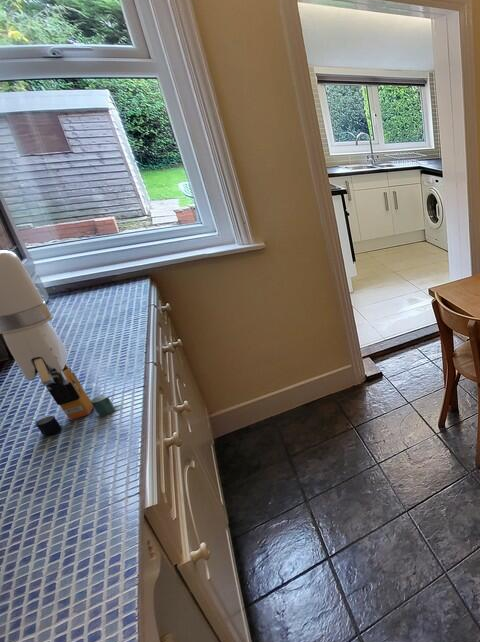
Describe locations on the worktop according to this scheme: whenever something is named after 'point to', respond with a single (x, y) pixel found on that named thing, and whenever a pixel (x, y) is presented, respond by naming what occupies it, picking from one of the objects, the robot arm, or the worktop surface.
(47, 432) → the black cylinder
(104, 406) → the teal green cylinder
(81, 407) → the supplement box
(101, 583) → the worktop surface
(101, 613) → the worktop surface
